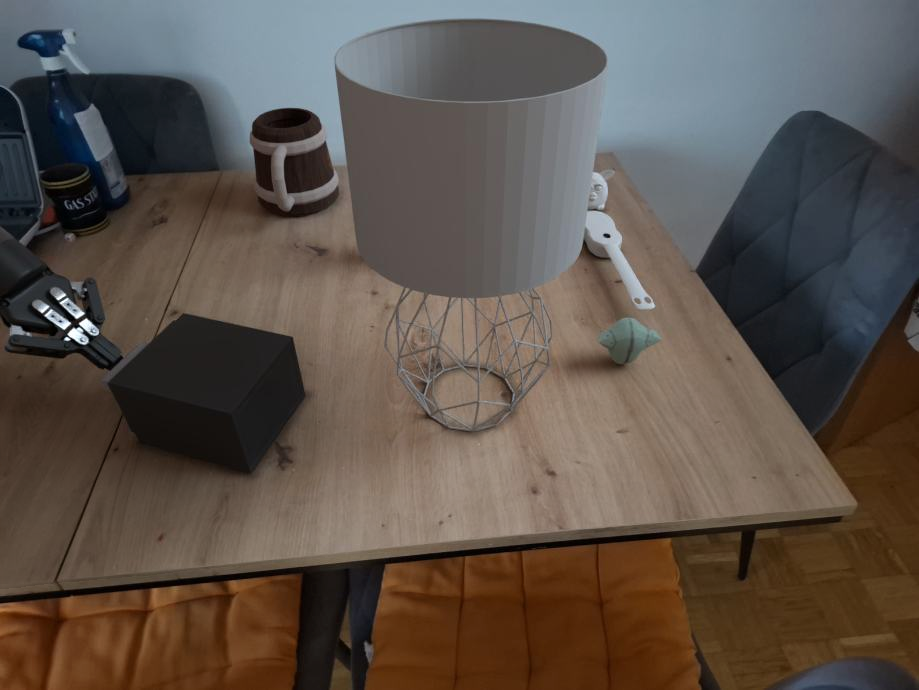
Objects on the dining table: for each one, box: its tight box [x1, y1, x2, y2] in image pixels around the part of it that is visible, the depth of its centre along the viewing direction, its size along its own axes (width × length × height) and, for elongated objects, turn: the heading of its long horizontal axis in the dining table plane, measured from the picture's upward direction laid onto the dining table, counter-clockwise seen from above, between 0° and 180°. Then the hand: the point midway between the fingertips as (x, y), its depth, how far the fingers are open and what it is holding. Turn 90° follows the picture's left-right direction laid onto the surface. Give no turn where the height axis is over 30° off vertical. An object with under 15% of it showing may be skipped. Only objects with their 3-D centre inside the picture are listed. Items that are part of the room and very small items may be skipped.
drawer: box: [99, 319, 176, 433], centre depth 73 cm, size 18×11×8 cm, turn 72°
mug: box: [249, 107, 340, 217], centre depth 111 cm, size 20×15×15 cm
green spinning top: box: [598, 317, 663, 365], centre depth 81 cm, size 8×4×7 cm, turn 93°
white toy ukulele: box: [583, 210, 656, 311], centre depth 99 cm, size 28×6×3 cm, turn 7°
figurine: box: [587, 169, 615, 212], centre depth 114 cm, size 8×6×7 cm
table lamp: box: [333, 17, 610, 432], centre depth 65 cm, size 22×22×40 cm
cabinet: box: [110, 312, 307, 475], centre depth 72 cm, size 15×13×10 cm
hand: (116, 364), depth 76 cm, fingers closed
